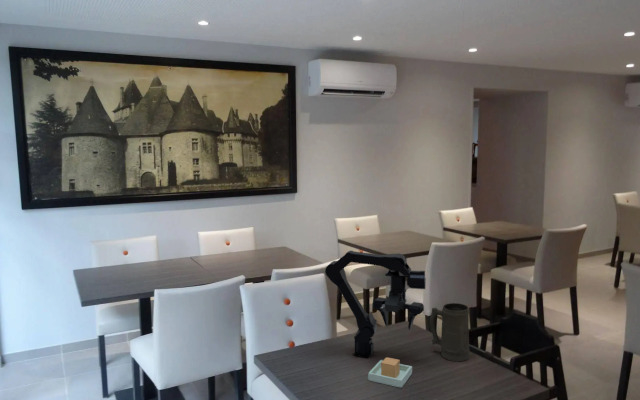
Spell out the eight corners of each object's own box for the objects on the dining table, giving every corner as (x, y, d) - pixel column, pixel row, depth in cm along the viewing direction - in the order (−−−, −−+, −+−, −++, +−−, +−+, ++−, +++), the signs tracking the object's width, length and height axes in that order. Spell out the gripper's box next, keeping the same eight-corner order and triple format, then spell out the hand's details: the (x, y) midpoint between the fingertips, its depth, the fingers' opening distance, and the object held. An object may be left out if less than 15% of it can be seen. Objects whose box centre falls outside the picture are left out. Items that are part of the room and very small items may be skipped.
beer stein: (472, 352, 188) (469, 302, 187) (471, 363, 178) (468, 310, 177) (432, 349, 193) (429, 301, 192) (429, 360, 183) (426, 309, 182)
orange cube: (381, 376, 167) (381, 362, 167) (386, 370, 172) (386, 357, 171) (394, 379, 165) (394, 365, 164) (399, 373, 169) (399, 359, 169)
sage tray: (368, 380, 166) (368, 373, 166) (380, 366, 176) (380, 360, 176) (401, 387, 160) (401, 380, 160) (412, 373, 171) (412, 366, 171)
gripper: (366, 289, 179) (367, 330, 180) (415, 296, 170) (415, 338, 172) (377, 282, 189) (377, 321, 190) (424, 288, 180) (424, 328, 181)
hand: (397, 327), depth 183 cm, fingers open, 9 cm apart
